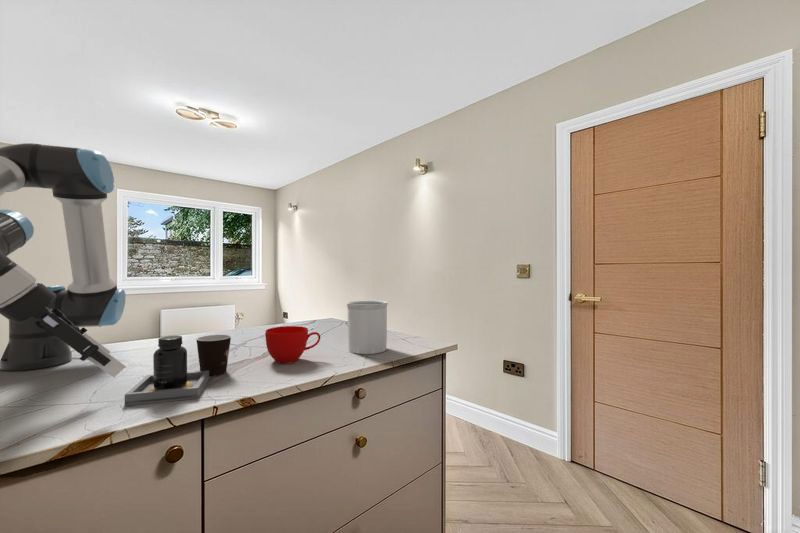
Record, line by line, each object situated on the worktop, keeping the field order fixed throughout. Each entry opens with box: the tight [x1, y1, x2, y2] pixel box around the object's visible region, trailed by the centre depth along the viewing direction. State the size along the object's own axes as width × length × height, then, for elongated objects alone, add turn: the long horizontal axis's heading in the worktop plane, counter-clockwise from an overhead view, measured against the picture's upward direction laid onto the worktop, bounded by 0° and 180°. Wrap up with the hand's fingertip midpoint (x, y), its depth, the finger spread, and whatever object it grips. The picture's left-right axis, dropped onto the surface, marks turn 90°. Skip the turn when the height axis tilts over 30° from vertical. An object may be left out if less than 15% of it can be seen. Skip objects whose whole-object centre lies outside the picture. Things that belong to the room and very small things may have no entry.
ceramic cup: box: [265, 325, 321, 364], centre depth 114 cm, size 13×17×10 cm
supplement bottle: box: [152, 335, 188, 390], centre depth 85 cm, size 7×7×12 cm
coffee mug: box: [196, 334, 232, 378], centre depth 101 cm, size 12×9×10 cm
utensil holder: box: [346, 299, 389, 355], centre depth 129 cm, size 15×15×18 cm
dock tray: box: [124, 370, 210, 407], centre depth 85 cm, size 14×14×2 cm
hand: (111, 363), depth 77 cm, fingers open, 13 cm apart
